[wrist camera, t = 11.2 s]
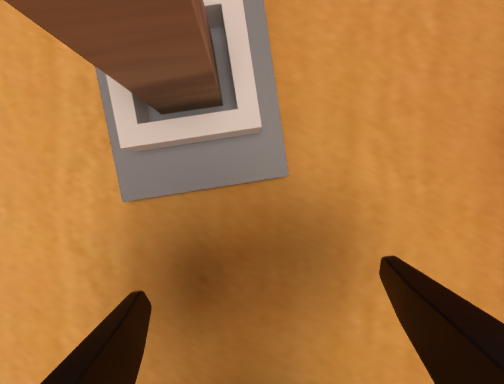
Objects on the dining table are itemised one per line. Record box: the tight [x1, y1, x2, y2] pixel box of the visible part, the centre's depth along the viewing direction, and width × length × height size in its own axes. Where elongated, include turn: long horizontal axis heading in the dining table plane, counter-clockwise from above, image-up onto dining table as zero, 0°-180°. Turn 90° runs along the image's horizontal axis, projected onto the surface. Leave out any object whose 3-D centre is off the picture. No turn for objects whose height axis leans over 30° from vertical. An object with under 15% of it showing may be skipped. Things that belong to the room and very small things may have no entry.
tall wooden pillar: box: [4, 0, 223, 115], centre depth 13 cm, size 5×5×13 cm
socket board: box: [95, 0, 289, 202], centre depth 19 cm, size 18×14×4 cm
